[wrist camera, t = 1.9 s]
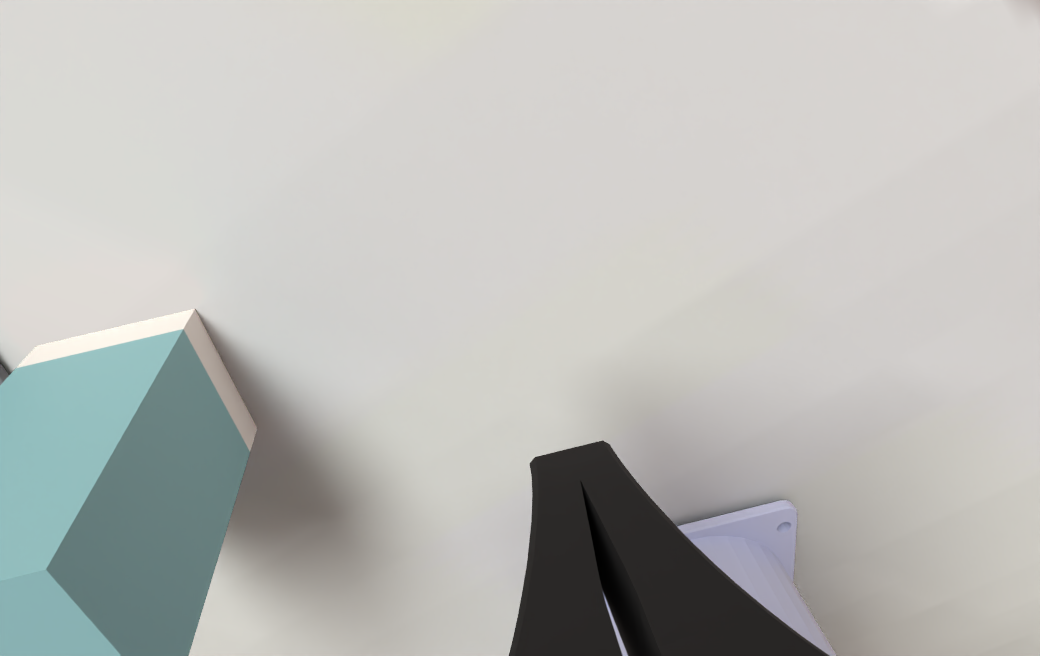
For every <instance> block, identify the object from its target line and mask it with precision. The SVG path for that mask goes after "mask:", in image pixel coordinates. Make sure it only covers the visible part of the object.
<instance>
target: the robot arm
mask: <svg viewBox="0 0 1040 656" xmlns="http://www.w3.org/2000/svg"><path fill="white" fill-rule="evenodd" d="M530 468H531V474H532V492H533V498H532V523H531V533H530V542H529V552H528V561H527V568H526V574H525V580H524V586H523V591H522V597H521V603H520V608H519V614H518V618H517V623H516V628H515V632H514V637H513V641H512V645H511V649H510V653H509V656H837V655H836V653H835V652H834V650H833V648H832V647H831V645H830V644H829V642H828V640H827V639H826V637H825V635H824V634H823V632H822V630H821V629H820V627H819V625H818V624H817V622H816V620H815V619H814V617H813V615H812V614H811V612H810V610H809V609H808V607H807V605H806V604H805V602H804V600H803V599H802V597H801V595H800V594H799V592H798V590H797V589H796V587H795V585H794V584H793V580H794V564H795V548H796V531H797V515H798V513H797V509H796V508H795V506H794V505H793V504H792V503H791V502H790V501H787V500H780V501H776V502H772V503H768V504H764V505H760V506H756V507H752V508H748V509H744V510H740V511H736V512H732V513H728V514H724V515H720V516H716V517H712V518H708V519H704V520H700V521H696V522H692V523H688V524H684V525H680V526H676V525H675V524H674V523H673V522H672V521H671V520H670V519H669V518H668V517H667V516H666V514H665V513H664V512H663V511H662V510H661V509H660V508H659V507H658V506H657V505H656V504H655V503H654V501H653V500H652V499H651V498H650V497H649V496H648V495H647V493H646V492H645V491H644V490H643V489H642V487H641V486H640V485H639V484H638V483H637V481H636V480H635V479H634V478H633V477H632V475H631V474H630V473H629V471H628V470H627V469H626V468H625V466H624V465H623V464H622V462H621V461H620V459H619V458H618V457H617V455H616V454H615V452H614V451H613V449H612V448H611V446H610V444H608V443H606V442H604V441H599V442H595V443H591V444H587V445H583V446H579V447H575V448H571V449H567V450H562V451H558V452H554V453H550V454H546V455H542V456H538V457H535V458H534V459H533V460H532V461H531V463H530Z"/></svg>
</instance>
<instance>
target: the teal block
mask: <svg viewBox="0 0 1040 656" xmlns="http://www.w3.org/2000/svg"><path fill="white" fill-rule="evenodd" d="M256 431H257V427H256V425H255V423H254V421H253V419H252V417H251V415H250V413H249V412H248V410H247V408H246V406H245V404H244V402H243V400H242V398H241V396H240V394H239V392H238V390H237V389H236V387H235V385H234V383H233V381H232V379H231V377H230V375H229V373H228V371H227V369H226V367H225V366H224V364H223V362H222V360H221V358H220V356H219V354H218V352H217V350H216V348H215V346H214V344H213V343H212V341H211V339H210V337H209V335H208V333H207V331H206V329H205V327H204V325H203V323H202V321H201V319H200V318H199V316H198V314H197V312H196V310H195V309H192V310H188V311H183V312H179V313H175V314H171V315H166V316H162V317H158V318H153V319H149V320H145V321H141V322H136V323H132V324H128V325H123V326H119V327H115V328H111V329H106V330H102V331H98V332H94V333H89V334H85V335H81V336H76V337H72V338H68V339H64V340H59V341H55V342H51V343H47V344H42V345H38V346H36V347H35V348H34V349H33V350H32V351H31V352H30V353H29V354H28V355H27V357H26V358H25V359H24V360H23V361H22V362H21V363H20V364H19V365H18V366H17V368H16V369H15V370H14V371H13V372H12V373H11V374H10V375H9V376H8V377H7V379H6V380H5V381H4V382H3V383H2V384H1V385H0V656H188V655H189V652H190V649H191V645H192V642H193V639H194V635H195V632H196V629H197V626H198V622H199V619H200V616H201V612H202V609H203V606H204V603H205V599H206V596H207V593H208V589H209V586H210V583H211V579H212V576H213V573H214V570H215V566H216V563H217V560H218V556H219V553H220V550H221V547H222V543H223V540H224V537H225V533H226V530H227V527H228V524H229V520H230V517H231V514H232V510H233V507H234V504H235V500H236V497H237V494H238V491H239V487H240V484H241V481H242V477H243V474H244V471H245V468H246V464H247V461H248V458H249V454H250V451H251V448H252V445H253V441H254V438H255V435H256Z"/></svg>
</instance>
